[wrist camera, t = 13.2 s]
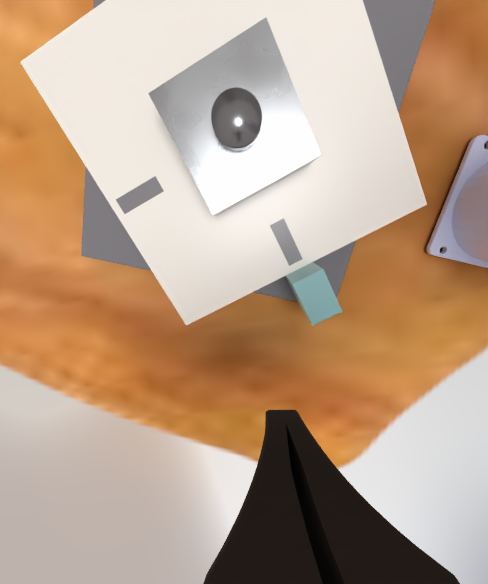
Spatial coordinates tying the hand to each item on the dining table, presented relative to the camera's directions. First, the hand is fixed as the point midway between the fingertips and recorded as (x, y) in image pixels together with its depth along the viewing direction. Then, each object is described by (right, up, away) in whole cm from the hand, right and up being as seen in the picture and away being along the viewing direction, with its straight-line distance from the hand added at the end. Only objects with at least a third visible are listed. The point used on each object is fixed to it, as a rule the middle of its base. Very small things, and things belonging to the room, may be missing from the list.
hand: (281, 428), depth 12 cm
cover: (-2, +15, +4) cm, 16 cm away
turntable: (-1, +14, +5) cm, 15 cm away
